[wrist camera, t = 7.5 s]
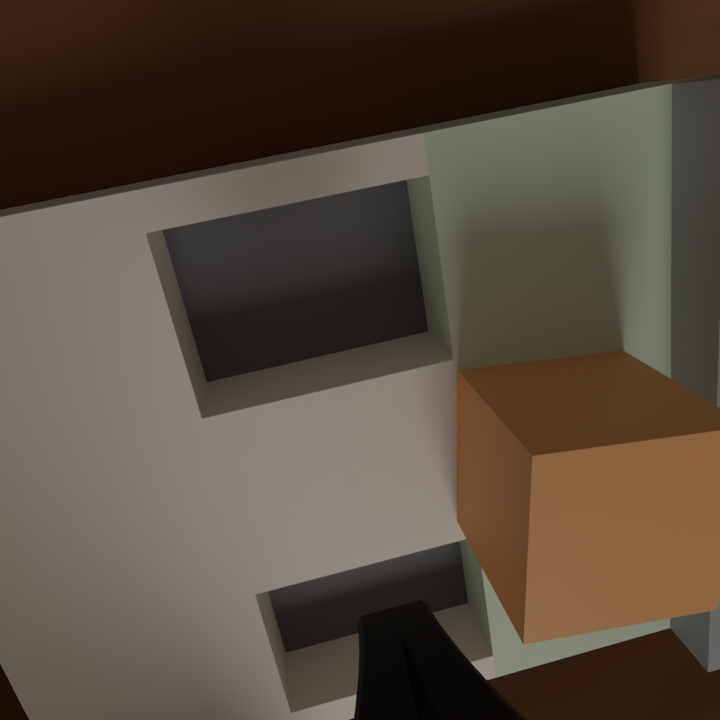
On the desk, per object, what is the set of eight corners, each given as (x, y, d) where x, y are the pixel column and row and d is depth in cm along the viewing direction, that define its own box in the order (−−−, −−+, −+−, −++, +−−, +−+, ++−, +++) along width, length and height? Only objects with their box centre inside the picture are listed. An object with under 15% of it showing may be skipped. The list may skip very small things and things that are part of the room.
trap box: (647, 566, 26) (736, 663, 21) (90, 719, 24) (53, 865, 19) (640, 83, 19) (768, 69, 14) (-135, 236, 17) (-277, 279, 12)
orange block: (609, 499, 20) (717, 609, 16) (457, 522, 20) (523, 644, 15) (623, 350, 19) (750, 426, 14) (457, 370, 18) (532, 456, 13)
